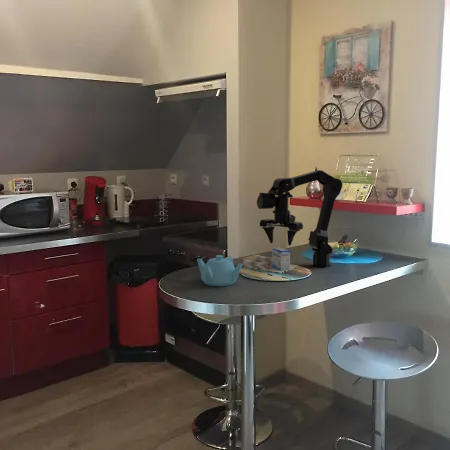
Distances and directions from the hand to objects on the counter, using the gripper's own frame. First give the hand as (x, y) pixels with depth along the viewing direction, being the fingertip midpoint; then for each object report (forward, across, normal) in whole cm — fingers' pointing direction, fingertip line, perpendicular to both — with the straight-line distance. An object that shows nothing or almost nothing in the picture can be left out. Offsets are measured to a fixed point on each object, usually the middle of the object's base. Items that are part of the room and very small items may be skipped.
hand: (280, 244), depth 221 cm
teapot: (+12, +6, +34) cm, 36 cm away
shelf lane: (+11, +10, 0) cm, 15 cm away
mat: (+11, -1, 0) cm, 11 cm away
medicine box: (+11, 0, 0) cm, 11 cm away
